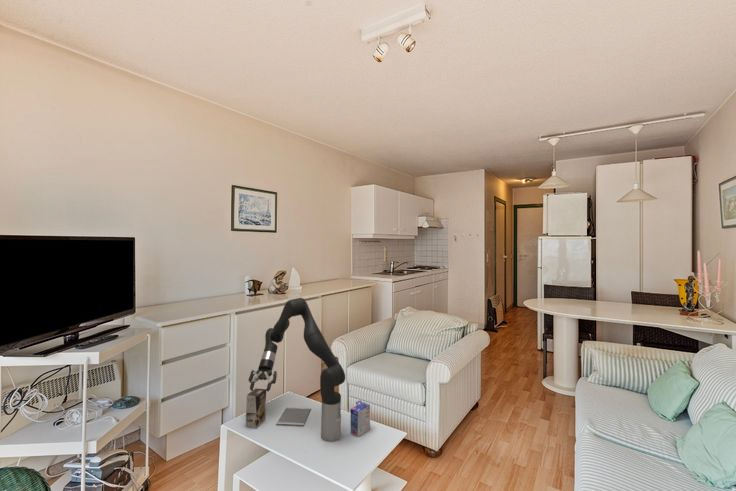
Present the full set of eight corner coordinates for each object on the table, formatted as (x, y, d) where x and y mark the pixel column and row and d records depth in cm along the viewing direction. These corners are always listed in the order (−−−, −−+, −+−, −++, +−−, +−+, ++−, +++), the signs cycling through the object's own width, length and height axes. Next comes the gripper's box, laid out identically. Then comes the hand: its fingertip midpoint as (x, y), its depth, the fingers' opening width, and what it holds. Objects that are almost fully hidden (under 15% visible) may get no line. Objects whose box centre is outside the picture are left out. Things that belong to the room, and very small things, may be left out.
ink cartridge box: (362, 425, 173) (362, 397, 173) (370, 429, 170) (371, 400, 170) (349, 433, 165) (350, 403, 166) (357, 437, 162) (358, 407, 162)
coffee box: (256, 428, 167) (257, 396, 168) (245, 427, 169) (246, 394, 169) (265, 419, 176) (266, 388, 177) (254, 418, 178) (255, 387, 178)
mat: (310, 409, 189) (310, 408, 189) (303, 426, 171) (303, 424, 171) (286, 408, 189) (286, 406, 189) (276, 425, 171) (276, 423, 171)
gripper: (253, 357, 186) (244, 387, 174) (278, 358, 185) (271, 388, 173) (256, 364, 191) (247, 393, 179) (281, 365, 190) (274, 394, 179)
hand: (259, 390), depth 176 cm, fingers open, 8 cm apart
